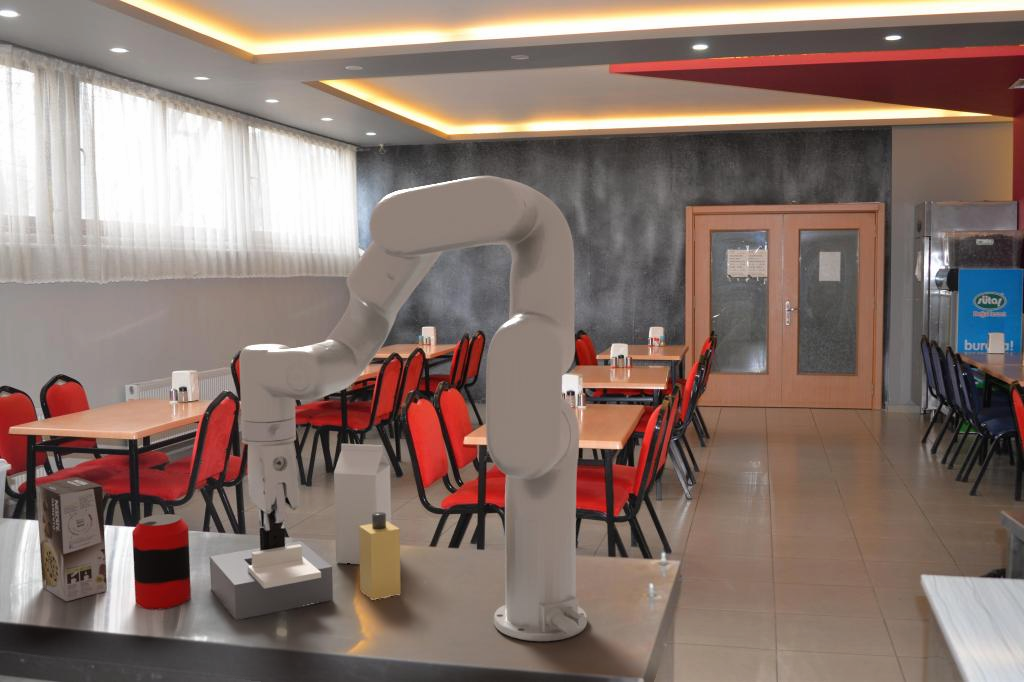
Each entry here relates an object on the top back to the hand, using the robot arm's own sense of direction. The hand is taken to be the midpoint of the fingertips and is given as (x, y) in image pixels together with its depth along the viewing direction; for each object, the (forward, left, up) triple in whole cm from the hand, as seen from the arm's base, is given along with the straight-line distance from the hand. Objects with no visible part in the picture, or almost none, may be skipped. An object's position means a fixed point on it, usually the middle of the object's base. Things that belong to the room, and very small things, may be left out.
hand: (272, 554), depth 137 cm
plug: (-6, -14, -6) cm, 17 cm away
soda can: (+8, +14, -7) cm, 17 cm away
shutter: (-5, 0, -1) cm, 5 cm away
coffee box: (+19, +25, -7) cm, 32 cm away
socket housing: (+2, 0, -6) cm, 7 cm away
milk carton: (+10, -18, -7) cm, 21 cm away
